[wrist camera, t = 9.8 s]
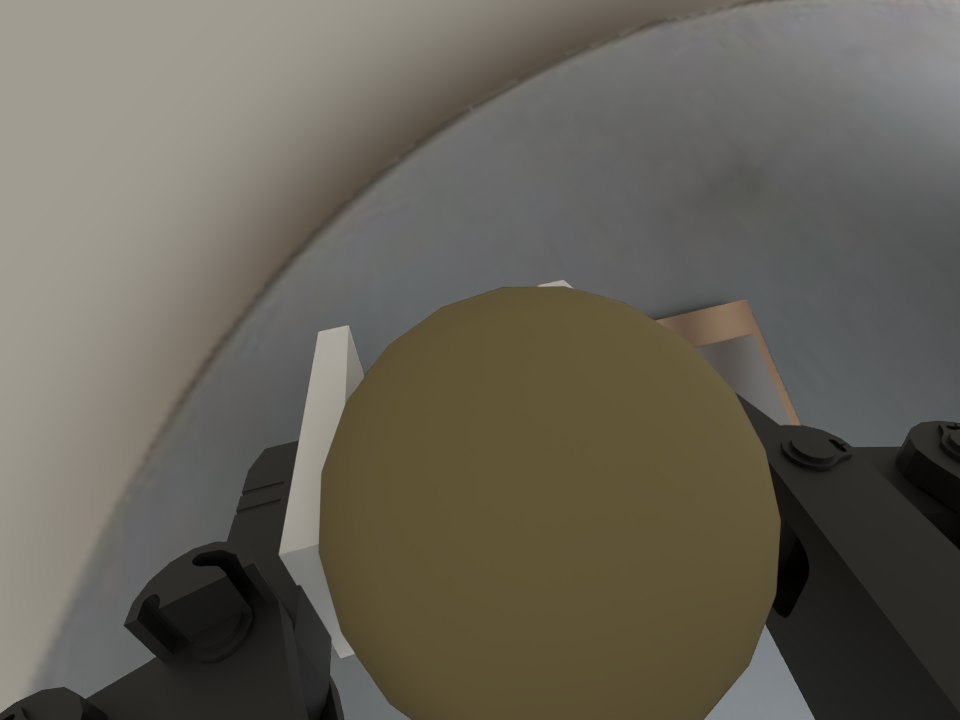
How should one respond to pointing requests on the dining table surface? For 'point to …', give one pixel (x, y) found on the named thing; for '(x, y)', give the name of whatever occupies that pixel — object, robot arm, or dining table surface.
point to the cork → (548, 516)
